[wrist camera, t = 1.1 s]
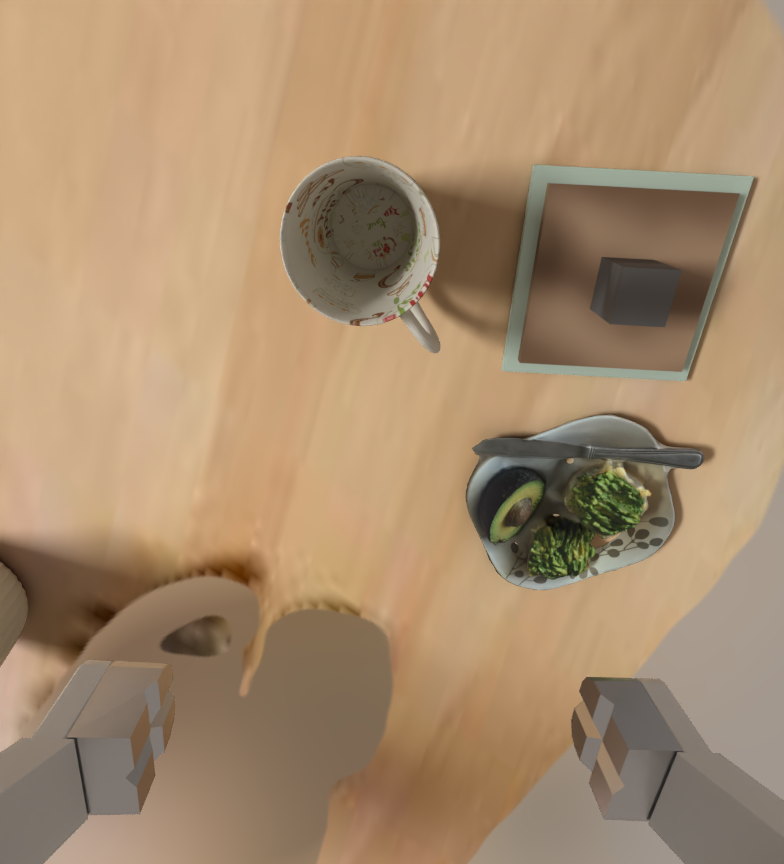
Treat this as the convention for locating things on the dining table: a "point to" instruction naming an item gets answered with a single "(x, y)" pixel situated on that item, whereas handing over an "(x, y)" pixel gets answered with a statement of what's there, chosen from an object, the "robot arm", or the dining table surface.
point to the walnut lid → (622, 275)
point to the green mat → (614, 179)
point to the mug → (362, 244)
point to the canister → (11, 610)
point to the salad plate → (573, 499)
